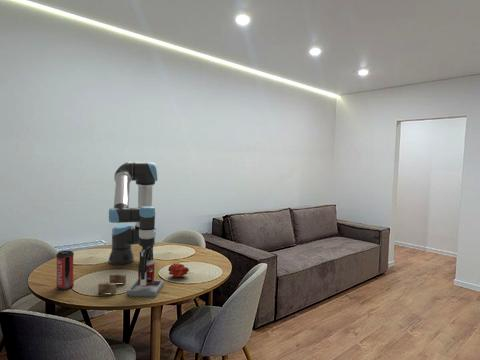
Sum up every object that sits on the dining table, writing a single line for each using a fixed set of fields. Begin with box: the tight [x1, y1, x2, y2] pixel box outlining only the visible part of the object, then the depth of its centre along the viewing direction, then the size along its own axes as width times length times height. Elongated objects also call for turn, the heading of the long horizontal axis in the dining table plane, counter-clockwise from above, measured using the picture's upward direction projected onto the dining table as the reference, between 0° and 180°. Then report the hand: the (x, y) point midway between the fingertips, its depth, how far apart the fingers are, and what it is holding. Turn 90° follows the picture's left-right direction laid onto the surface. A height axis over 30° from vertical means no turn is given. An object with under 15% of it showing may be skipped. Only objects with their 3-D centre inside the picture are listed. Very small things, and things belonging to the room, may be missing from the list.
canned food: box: [137, 259, 155, 286], centre depth 155 cm, size 8×8×11 cm
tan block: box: [97, 273, 127, 295], centre depth 156 cm, size 8×14×5 cm, turn 178°
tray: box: [126, 279, 165, 298], centre depth 156 cm, size 14×14×2 cm
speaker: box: [55, 250, 75, 291], centre depth 155 cm, size 8×8×18 cm
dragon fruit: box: [167, 262, 190, 279], centre depth 175 cm, size 8×8×12 cm
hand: (146, 281), depth 155 cm, fingers closed on canned food, 8 cm apart
